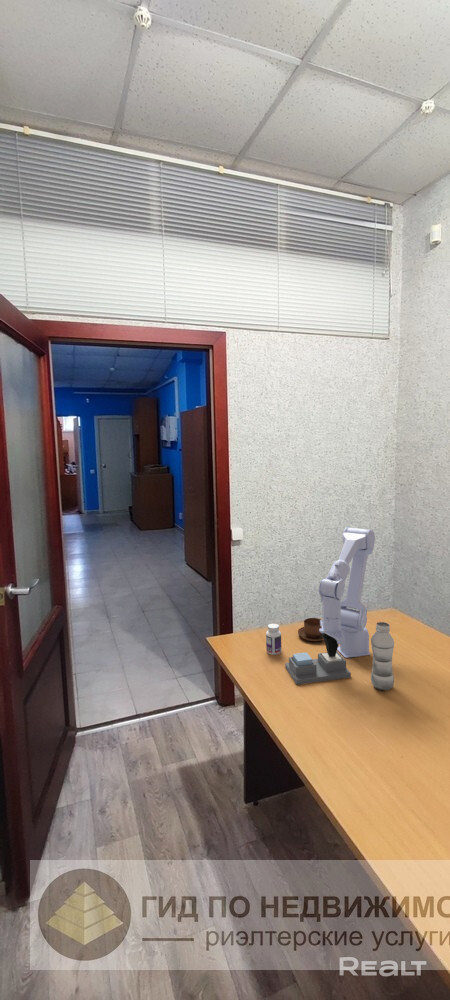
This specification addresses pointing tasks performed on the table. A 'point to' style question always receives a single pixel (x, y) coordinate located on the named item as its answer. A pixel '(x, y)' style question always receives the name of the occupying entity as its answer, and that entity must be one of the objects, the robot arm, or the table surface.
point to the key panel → (318, 670)
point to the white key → (331, 658)
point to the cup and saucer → (311, 630)
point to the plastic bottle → (382, 657)
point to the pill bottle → (273, 639)
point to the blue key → (302, 659)
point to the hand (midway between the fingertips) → (331, 655)
